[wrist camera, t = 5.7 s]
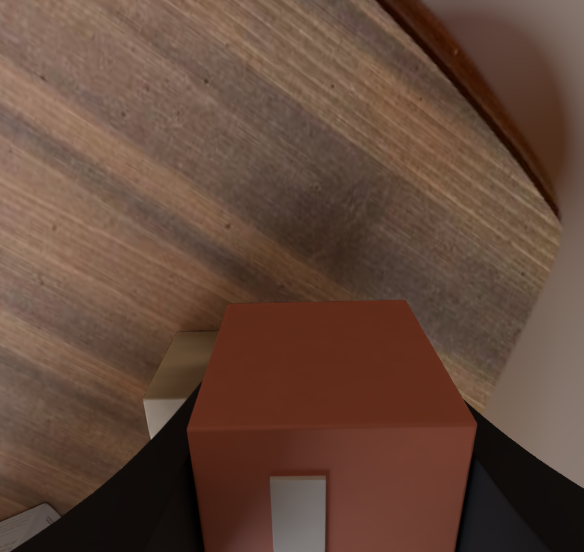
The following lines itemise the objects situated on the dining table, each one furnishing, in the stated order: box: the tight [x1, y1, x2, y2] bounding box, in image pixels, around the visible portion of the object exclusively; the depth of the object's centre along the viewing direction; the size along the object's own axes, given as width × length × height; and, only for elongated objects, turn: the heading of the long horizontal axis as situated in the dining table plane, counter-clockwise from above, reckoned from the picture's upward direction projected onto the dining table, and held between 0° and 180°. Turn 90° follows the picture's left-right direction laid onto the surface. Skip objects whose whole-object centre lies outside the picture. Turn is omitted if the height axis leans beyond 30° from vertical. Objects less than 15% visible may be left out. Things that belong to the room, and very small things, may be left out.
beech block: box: [143, 331, 219, 439], centre depth 19 cm, size 5×5×5 cm
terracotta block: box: [187, 300, 477, 552], centre depth 10 cm, size 5×5×5 cm
